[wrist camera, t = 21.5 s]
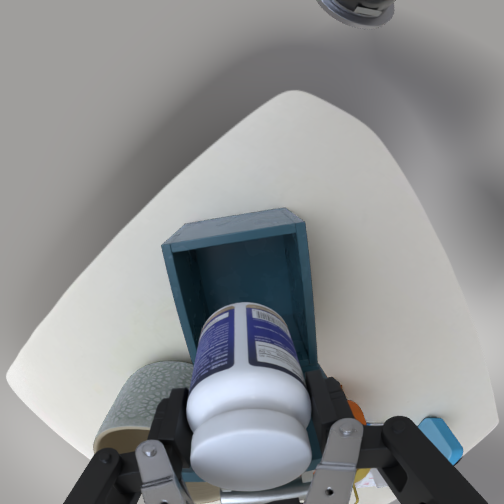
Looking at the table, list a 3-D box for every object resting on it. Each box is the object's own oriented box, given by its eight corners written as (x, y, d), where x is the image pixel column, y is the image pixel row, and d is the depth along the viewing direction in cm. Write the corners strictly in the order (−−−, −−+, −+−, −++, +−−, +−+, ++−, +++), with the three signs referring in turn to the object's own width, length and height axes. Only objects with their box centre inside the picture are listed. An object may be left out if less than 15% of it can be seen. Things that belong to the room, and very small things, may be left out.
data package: (407, 452, 47) (426, 490, 36) (393, 453, 47) (412, 493, 35) (440, 414, 45) (466, 451, 33) (426, 414, 44) (453, 454, 33)
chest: (184, 223, 34) (160, 245, 23) (285, 207, 34) (305, 221, 23) (207, 328, 37) (197, 381, 27) (298, 315, 37) (317, 364, 27)
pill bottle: (212, 378, 19) (199, 500, 10) (191, 307, 18) (151, 427, 8) (294, 365, 19) (326, 486, 10) (283, 291, 18) (324, 406, 8)
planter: (126, 411, 41) (98, 481, 26) (132, 330, 37) (87, 404, 22) (225, 436, 42) (223, 512, 28) (254, 361, 39) (260, 448, 24)
